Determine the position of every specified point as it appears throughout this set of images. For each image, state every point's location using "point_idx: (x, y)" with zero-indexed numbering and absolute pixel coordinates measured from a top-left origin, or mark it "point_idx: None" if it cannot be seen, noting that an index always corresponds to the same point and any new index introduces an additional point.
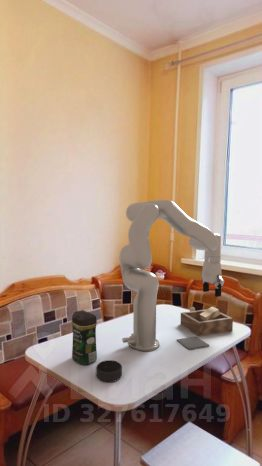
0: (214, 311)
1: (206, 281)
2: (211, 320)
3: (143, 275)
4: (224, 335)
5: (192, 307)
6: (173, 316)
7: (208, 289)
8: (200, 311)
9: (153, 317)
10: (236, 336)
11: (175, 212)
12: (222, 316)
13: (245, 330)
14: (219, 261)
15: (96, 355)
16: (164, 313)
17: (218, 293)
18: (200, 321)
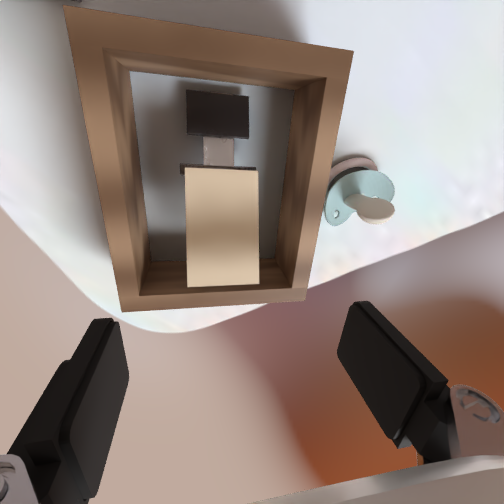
0: (190, 253)
1: (362, 502)
2: (109, 165)
3: None
4: (82, 202)
5: (383, 215)
6: (423, 121)
7: (348, 366)
8: (303, 214)
9: None
10: (57, 248)
11: None
12: (193, 287)
13: (123, 320)
14: None
15: None
16: (484, 102)
17: (56, 383)
18: (241, 166)
